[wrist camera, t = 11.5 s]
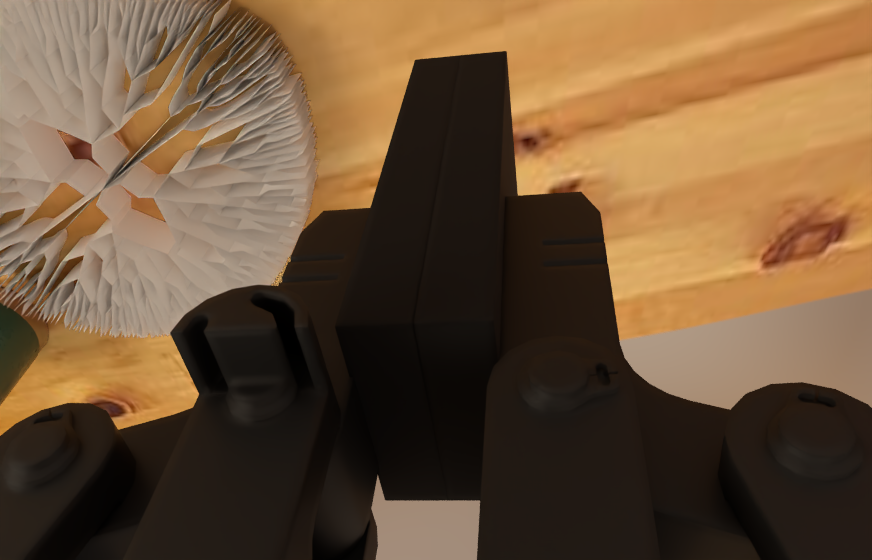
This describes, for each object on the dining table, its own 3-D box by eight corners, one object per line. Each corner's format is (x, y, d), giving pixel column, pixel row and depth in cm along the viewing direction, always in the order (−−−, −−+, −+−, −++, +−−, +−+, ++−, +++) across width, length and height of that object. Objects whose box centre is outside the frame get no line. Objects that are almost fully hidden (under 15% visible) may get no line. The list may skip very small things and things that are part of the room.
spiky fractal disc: (-151, 155, 46) (-184, 177, 44) (101, -166, 34) (71, -158, 32) (135, 367, 56) (120, 394, 54) (413, 178, 43) (407, 203, 41)
